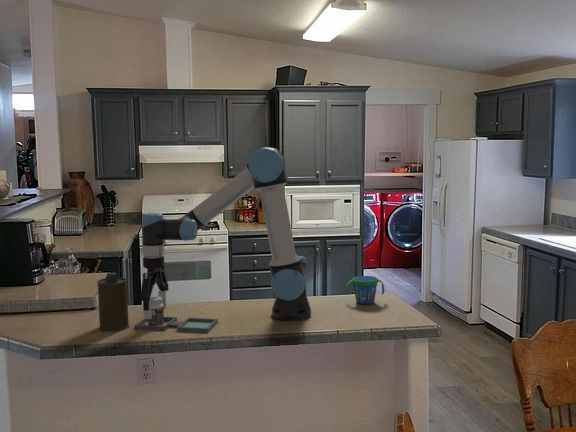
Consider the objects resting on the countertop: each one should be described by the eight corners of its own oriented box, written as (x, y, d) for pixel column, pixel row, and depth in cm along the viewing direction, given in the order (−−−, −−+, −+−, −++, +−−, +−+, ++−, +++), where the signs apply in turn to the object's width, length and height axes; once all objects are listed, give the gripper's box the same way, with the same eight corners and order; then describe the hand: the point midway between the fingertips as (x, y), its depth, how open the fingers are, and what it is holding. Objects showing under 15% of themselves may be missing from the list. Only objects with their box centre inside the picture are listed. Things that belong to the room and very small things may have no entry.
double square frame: (218, 322, 213) (218, 318, 213) (208, 332, 202) (208, 328, 201) (147, 319, 218) (147, 315, 218) (134, 328, 207) (134, 325, 206)
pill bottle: (160, 327, 208) (159, 300, 207) (145, 326, 209) (144, 300, 208) (166, 322, 213) (165, 296, 212) (152, 322, 215) (151, 296, 213)
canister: (132, 328, 207) (130, 274, 204) (102, 333, 202) (99, 277, 199) (125, 321, 216) (122, 268, 214) (96, 325, 211) (93, 272, 209)
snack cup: (346, 305, 233) (346, 281, 232) (345, 299, 244) (345, 275, 243) (385, 306, 232) (385, 281, 231) (383, 299, 242) (383, 275, 241)
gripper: (157, 249, 221) (159, 303, 224) (128, 262, 197) (130, 323, 199) (176, 250, 220) (177, 304, 222) (148, 263, 195) (150, 324, 198)
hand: (155, 313), depth 211 cm, fingers open, 13 cm apart
